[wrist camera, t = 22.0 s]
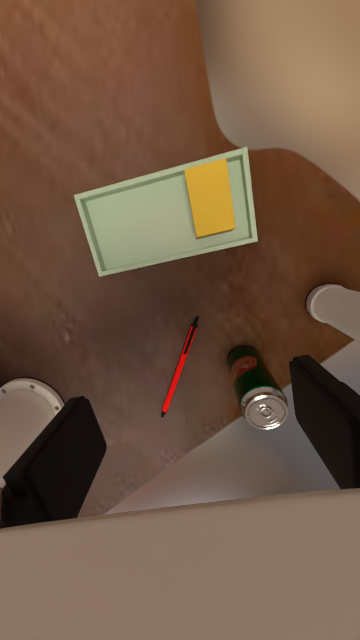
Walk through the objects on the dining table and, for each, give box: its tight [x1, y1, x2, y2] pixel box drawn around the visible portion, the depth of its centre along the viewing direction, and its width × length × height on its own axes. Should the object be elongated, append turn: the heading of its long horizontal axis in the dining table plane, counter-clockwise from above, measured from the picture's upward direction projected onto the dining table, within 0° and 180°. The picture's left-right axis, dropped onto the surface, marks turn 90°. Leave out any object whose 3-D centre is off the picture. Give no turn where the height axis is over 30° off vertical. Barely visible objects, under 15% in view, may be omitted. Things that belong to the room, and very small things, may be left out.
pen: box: [161, 317, 199, 418], centre depth 35 cm, size 1×19×1 cm, turn 162°
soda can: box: [228, 346, 288, 430], centre depth 29 cm, size 5×5×12 cm
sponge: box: [184, 158, 236, 239], centre depth 26 cm, size 4×7×4 cm, turn 12°
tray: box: [74, 147, 258, 277], centre depth 29 cm, size 21×10×2 cm, turn 102°
